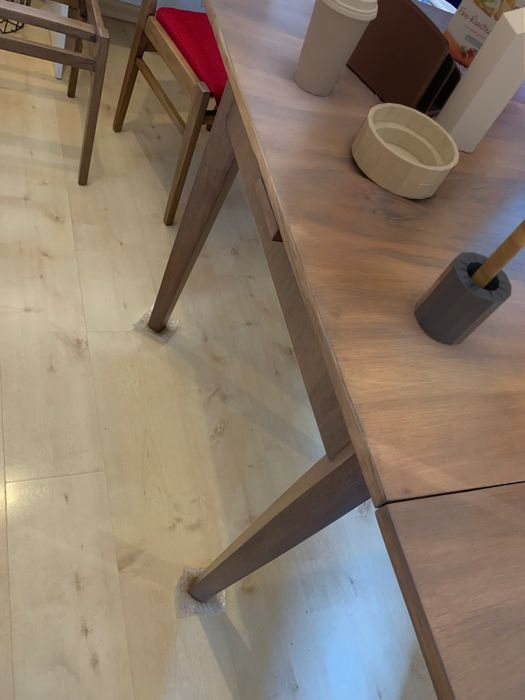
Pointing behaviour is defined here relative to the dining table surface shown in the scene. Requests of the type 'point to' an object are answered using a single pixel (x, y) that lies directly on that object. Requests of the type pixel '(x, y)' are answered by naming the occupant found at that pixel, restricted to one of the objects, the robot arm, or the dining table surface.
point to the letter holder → (406, 58)
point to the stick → (500, 257)
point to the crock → (460, 300)
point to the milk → (487, 83)
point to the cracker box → (475, 26)
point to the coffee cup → (331, 42)
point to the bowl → (404, 151)
